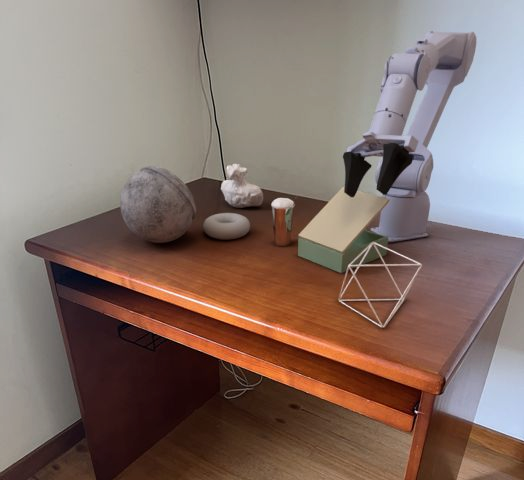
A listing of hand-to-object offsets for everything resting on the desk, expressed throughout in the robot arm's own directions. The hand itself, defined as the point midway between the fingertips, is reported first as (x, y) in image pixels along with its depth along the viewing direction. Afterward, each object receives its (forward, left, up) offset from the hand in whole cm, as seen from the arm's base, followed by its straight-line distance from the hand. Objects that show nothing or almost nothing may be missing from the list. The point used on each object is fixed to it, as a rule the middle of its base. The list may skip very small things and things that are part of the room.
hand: (364, 193), depth 94 cm
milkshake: (+8, -16, -14) cm, 23 cm away
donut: (+17, -26, -14) cm, 34 cm away
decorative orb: (+31, -27, -14) cm, 43 cm away
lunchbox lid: (0, -6, -7) cm, 9 cm away
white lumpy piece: (+8, -43, -14) cm, 46 cm away
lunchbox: (0, -6, -14) cm, 15 cm away
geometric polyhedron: (+6, +16, -14) cm, 22 cm away
